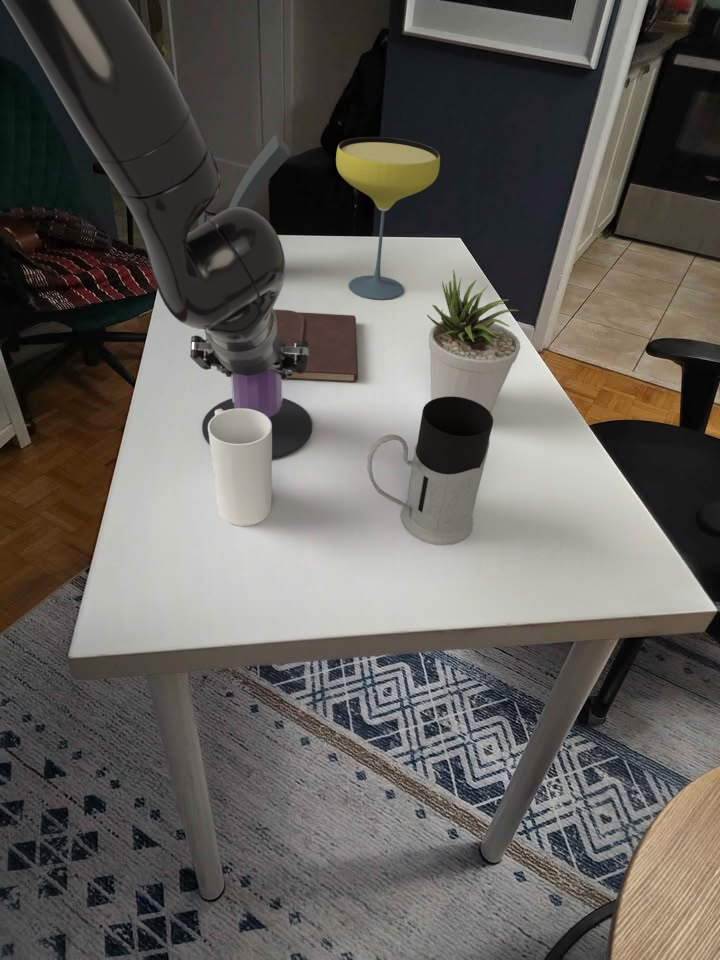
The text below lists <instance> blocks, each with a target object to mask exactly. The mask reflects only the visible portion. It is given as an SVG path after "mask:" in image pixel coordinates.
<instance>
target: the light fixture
mask: <svg viewBox="0 0 720 960" xmlns="http://www.w3.org/2000/svg"><path fill="white" fill-rule="evenodd" d="M290 156H291V152H290V148H289V146H288V144H287V143H286V142H285V141H284V140H282V139H281V138H280V136H278V134H274V135H273V137H272V138H271V139H270V140H269V142H268V143H266V145H264V148H263V149H262V150H261V151H260V153H259V154H258V155H257V156H256V158H255V159H254V160H253V162H252V163H251V165H250V166H249V167H248V169H247V170H246V172H245V174H244V176H243V177H242V179H241V181H240V183H239V185H238V186H237V188H236V190H235V192H234V194H233V196H232V198H231V201H230V202H229V205H228V207H227V209H228V208H232V207H244V208H248V209H251V210H252V208H253V206H254V204H255V202H256V201H257V199H258V197H259V196H260V194H261V193H262V190H263V189H264V188H265V186H266V185H267V183H268V182H269V181H270V179H271V178H272V177H273V176H274V174H276V172H277V171H278V170H280V168H281V166H282V165H284V164H285V162H286V161H287V160H288V159H289V158H290ZM214 216H215V215H207V213H206V211H204V212H203V213H202V215H201V216H200V217H199V218H198V220H197V221H198V222H197V227H198V226H200V225H202V224H203V223H205V222H206V221H209V219H211V218H212V217H214Z"/></svg>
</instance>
